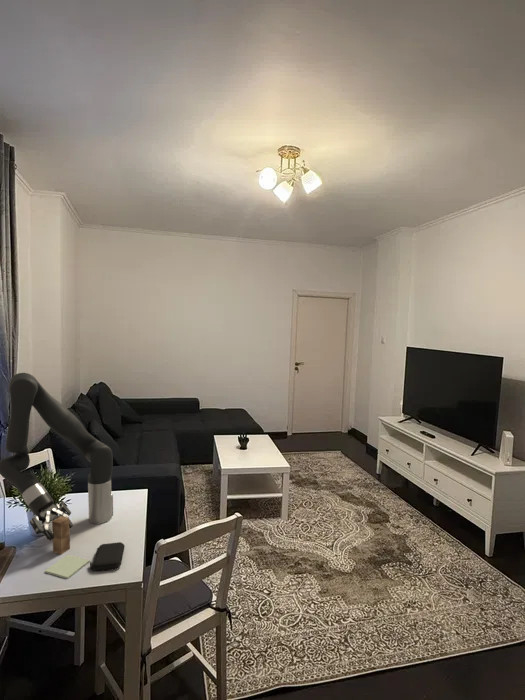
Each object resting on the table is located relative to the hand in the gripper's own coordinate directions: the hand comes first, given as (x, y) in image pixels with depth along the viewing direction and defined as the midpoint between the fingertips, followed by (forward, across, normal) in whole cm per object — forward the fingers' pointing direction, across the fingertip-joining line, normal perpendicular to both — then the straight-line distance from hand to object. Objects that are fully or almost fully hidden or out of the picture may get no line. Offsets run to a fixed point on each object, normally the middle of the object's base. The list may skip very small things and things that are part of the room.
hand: (62, 533), depth 149 cm
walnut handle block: (+4, 0, +5) cm, 7 cm away
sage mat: (+12, -7, -2) cm, 14 cm away
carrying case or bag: (+19, +1, -8) cm, 21 cm away
